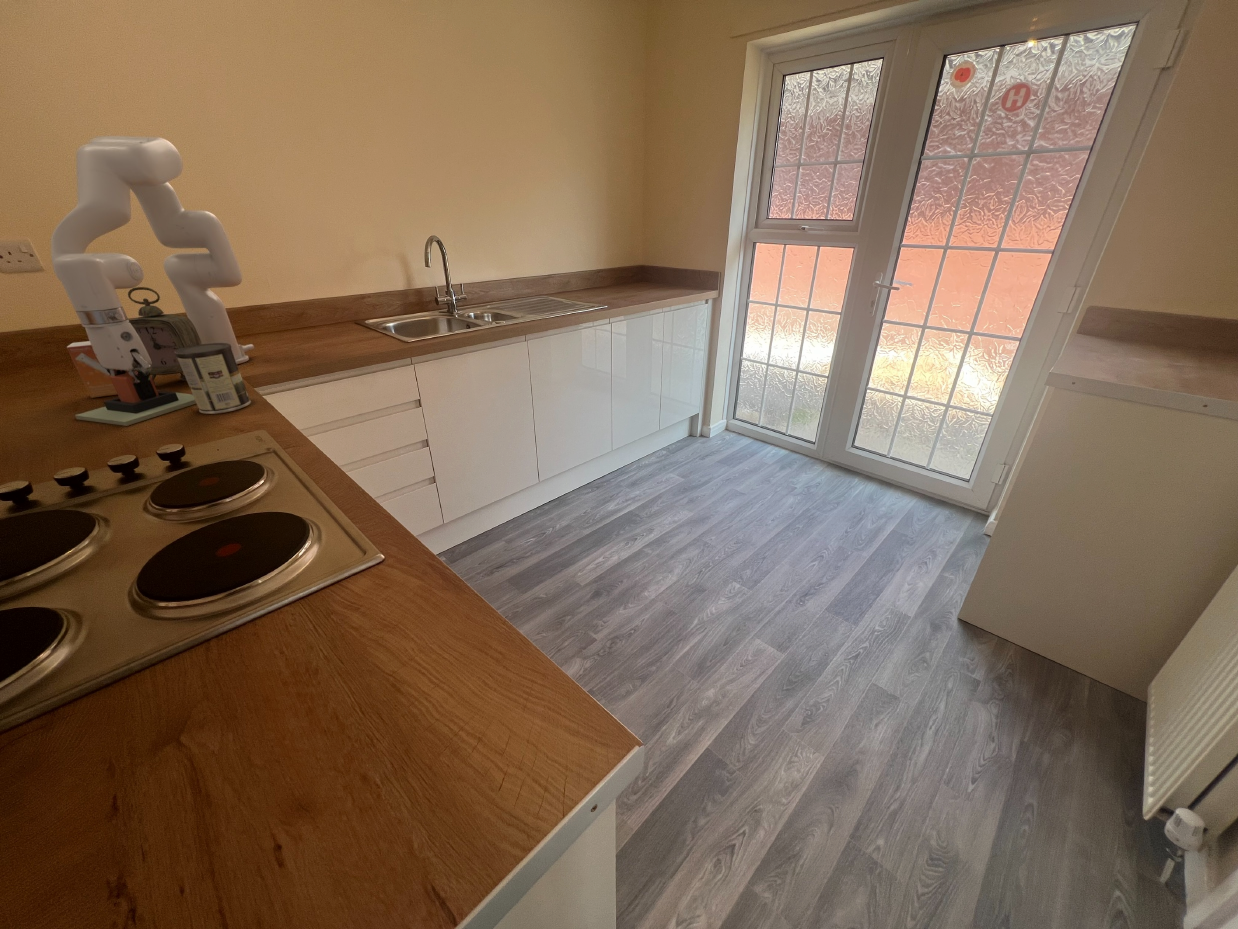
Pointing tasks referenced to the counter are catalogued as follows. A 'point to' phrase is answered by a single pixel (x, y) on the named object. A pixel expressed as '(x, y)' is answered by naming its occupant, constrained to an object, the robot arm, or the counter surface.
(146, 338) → the tabletop clock
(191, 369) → the coffee can
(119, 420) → the back pad
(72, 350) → the small box
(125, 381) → the pad block
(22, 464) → the counter surface
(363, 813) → the counter surface
